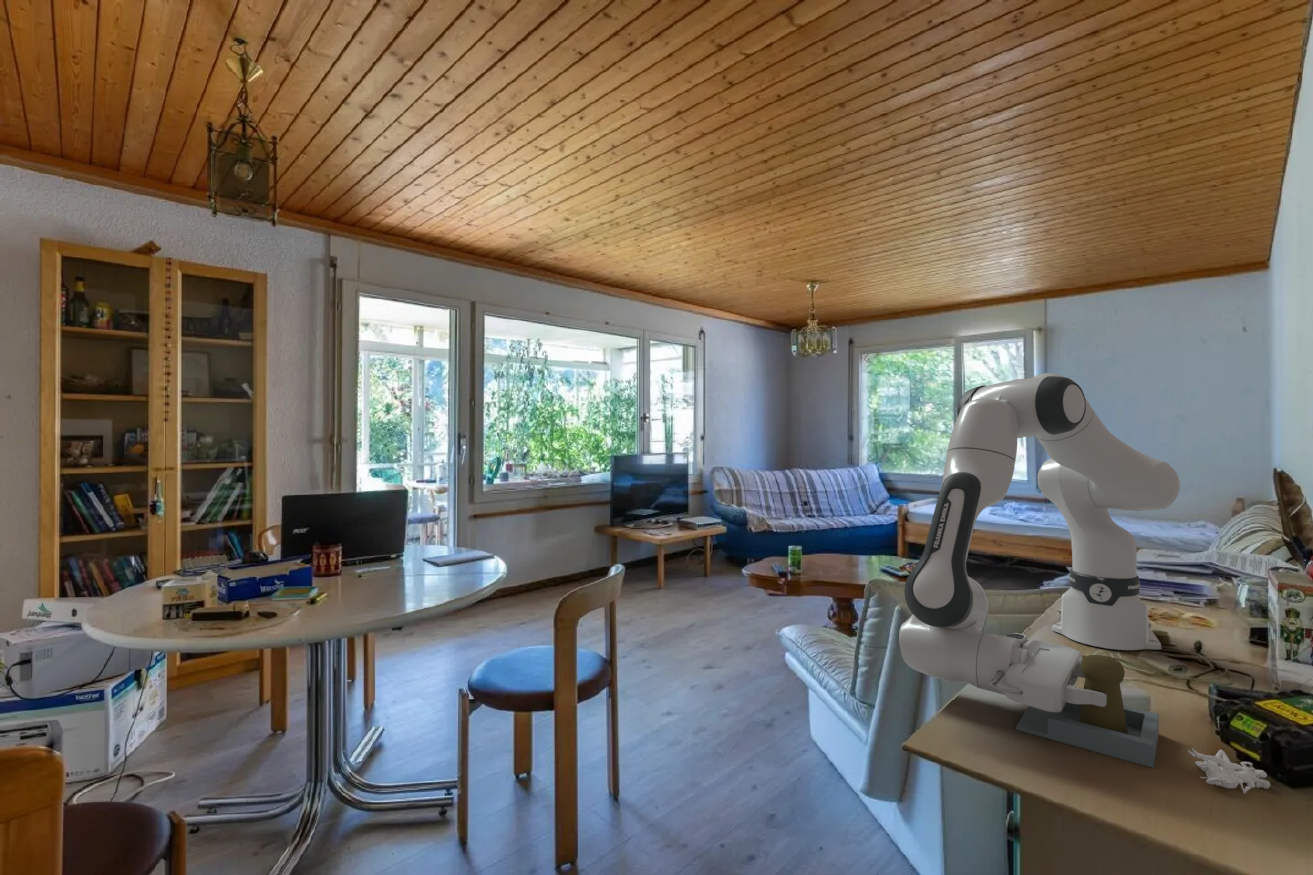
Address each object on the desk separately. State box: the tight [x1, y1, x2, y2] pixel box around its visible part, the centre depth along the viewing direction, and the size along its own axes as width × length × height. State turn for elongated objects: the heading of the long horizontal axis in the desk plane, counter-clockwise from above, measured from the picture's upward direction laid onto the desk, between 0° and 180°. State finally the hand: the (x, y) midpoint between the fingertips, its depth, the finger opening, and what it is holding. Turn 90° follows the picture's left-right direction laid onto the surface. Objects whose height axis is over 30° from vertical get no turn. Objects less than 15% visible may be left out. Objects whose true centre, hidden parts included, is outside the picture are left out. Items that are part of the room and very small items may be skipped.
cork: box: [1078, 654, 1128, 734], centre depth 90 cm, size 6×6×11 cm
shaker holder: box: [1016, 702, 1160, 769], centre depth 91 cm, size 12×16×3 cm
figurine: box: [1187, 748, 1271, 794], centre depth 78 cm, size 3×8×8 cm
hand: (1110, 688), depth 89 cm, fingers open, 8 cm apart
